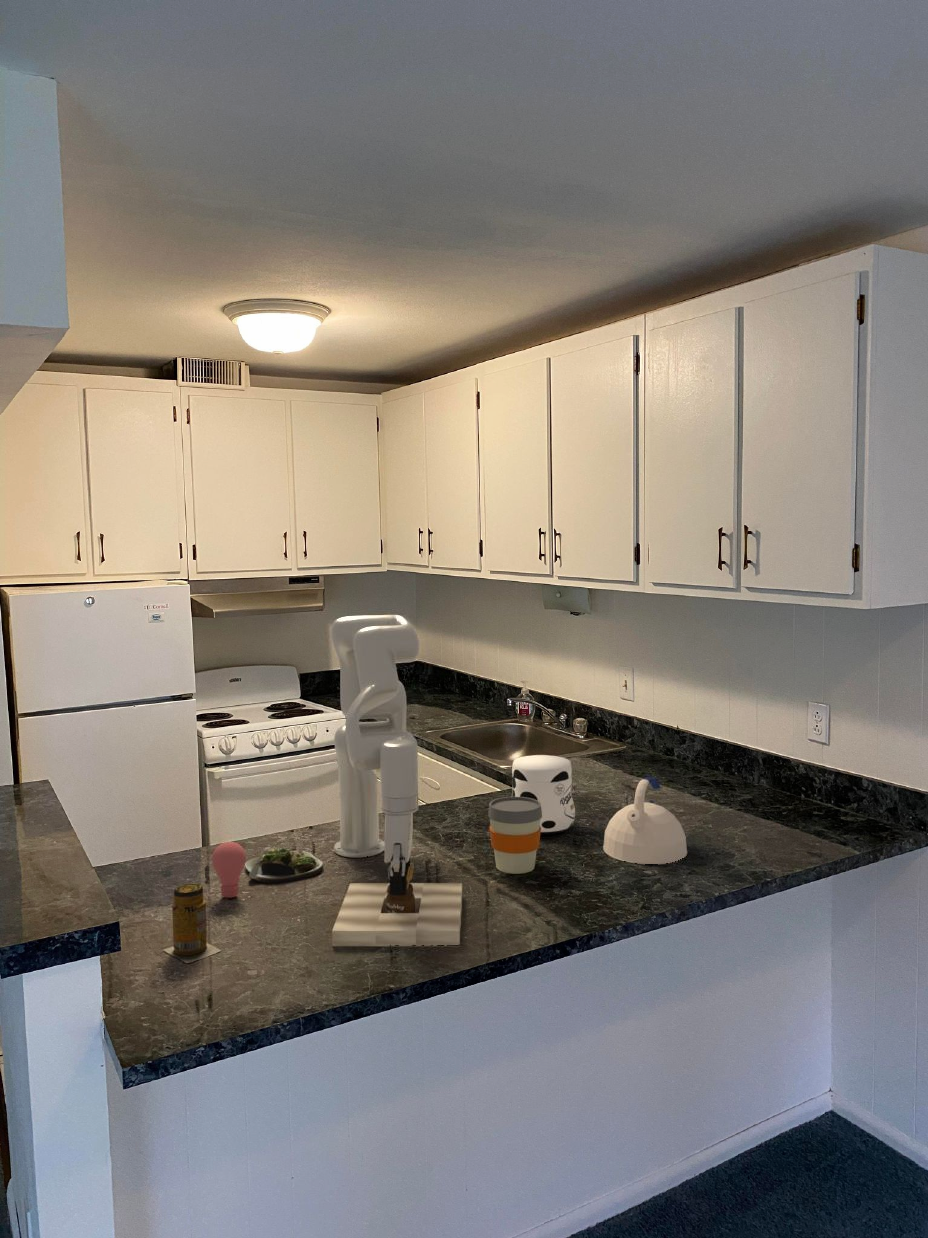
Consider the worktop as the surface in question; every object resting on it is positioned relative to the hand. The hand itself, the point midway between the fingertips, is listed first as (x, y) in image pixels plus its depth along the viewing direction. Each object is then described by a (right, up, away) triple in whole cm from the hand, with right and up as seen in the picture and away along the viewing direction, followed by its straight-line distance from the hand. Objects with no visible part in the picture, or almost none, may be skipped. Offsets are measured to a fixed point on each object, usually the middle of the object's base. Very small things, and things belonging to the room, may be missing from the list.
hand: (400, 885), depth 185 cm
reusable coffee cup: (+25, -5, +30) cm, 39 cm away
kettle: (+57, -3, +40) cm, 70 cm away
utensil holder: (0, -7, 0) cm, 7 cm away
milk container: (+33, -2, +57) cm, 66 cm away
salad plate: (-29, -5, +29) cm, 42 cm away
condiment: (-38, -9, -13) cm, 41 cm away
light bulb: (-38, -7, +13) cm, 40 cm away
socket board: (0, -7, 0) cm, 7 cm away
